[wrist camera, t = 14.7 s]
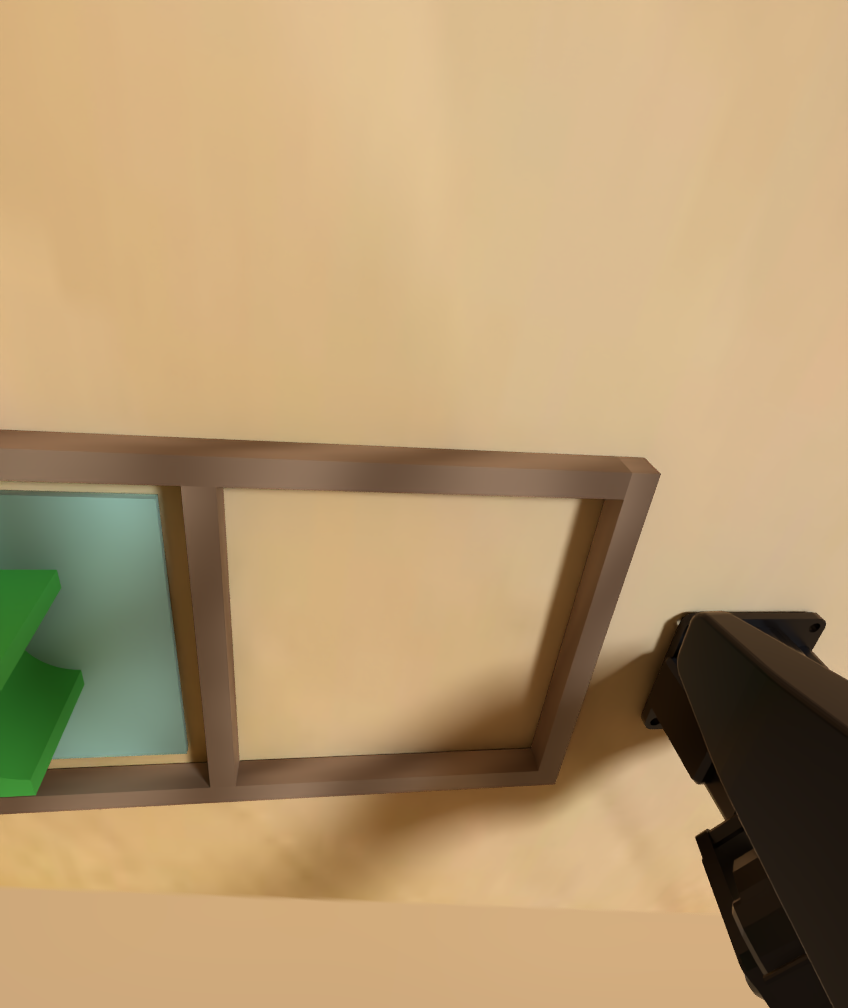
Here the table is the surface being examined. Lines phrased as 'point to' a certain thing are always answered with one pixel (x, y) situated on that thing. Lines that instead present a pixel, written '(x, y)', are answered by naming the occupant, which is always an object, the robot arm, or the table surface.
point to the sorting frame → (149, 624)
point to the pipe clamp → (29, 684)
